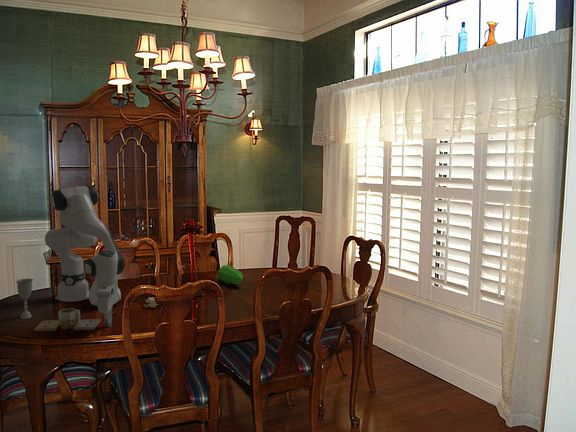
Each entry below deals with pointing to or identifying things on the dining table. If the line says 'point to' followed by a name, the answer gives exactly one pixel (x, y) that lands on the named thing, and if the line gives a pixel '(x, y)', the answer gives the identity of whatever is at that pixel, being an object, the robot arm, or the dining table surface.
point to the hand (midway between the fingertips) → (108, 316)
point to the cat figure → (150, 302)
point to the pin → (109, 319)
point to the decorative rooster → (94, 298)
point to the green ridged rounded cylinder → (230, 275)
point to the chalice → (25, 294)
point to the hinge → (68, 322)
